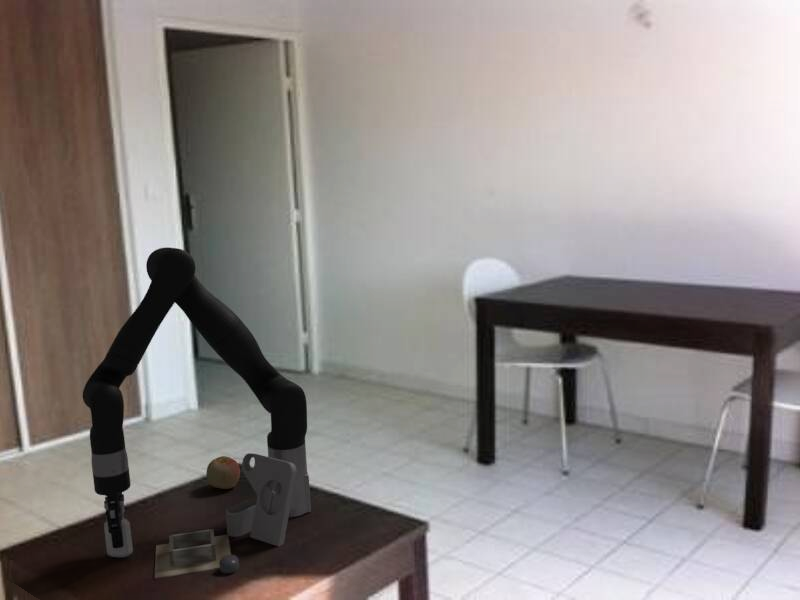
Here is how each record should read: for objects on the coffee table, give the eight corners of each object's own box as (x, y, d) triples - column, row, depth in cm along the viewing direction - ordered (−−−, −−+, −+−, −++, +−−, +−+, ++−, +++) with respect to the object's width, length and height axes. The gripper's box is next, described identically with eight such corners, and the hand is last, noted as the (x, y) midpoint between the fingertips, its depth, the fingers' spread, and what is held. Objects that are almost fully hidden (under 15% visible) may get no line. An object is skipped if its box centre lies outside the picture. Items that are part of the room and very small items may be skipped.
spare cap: (238, 560, 179) (238, 553, 178) (240, 574, 175) (239, 567, 174) (219, 563, 178) (218, 556, 177) (220, 577, 174) (220, 570, 173)
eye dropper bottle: (116, 561, 182) (110, 509, 180) (105, 553, 186) (99, 503, 184) (135, 554, 185) (129, 503, 183) (123, 547, 189) (117, 497, 187)
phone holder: (222, 536, 194) (216, 462, 191) (254, 521, 202) (248, 450, 199) (274, 555, 184) (269, 477, 181) (306, 537, 192) (301, 462, 189)
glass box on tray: (228, 538, 193) (226, 520, 192) (232, 569, 177) (231, 549, 177) (156, 549, 189) (154, 530, 188) (154, 582, 173) (153, 561, 173)
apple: (225, 479, 231) (222, 451, 229) (248, 485, 225) (245, 457, 224) (201, 490, 224) (198, 461, 222) (223, 496, 218) (221, 467, 217)
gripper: (126, 478, 177) (135, 553, 179) (130, 456, 190) (137, 526, 193) (89, 483, 175) (98, 559, 178) (95, 460, 188) (103, 532, 191)
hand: (118, 542), depth 185 cm, fingers closed on eye dropper bottle, 4 cm apart
